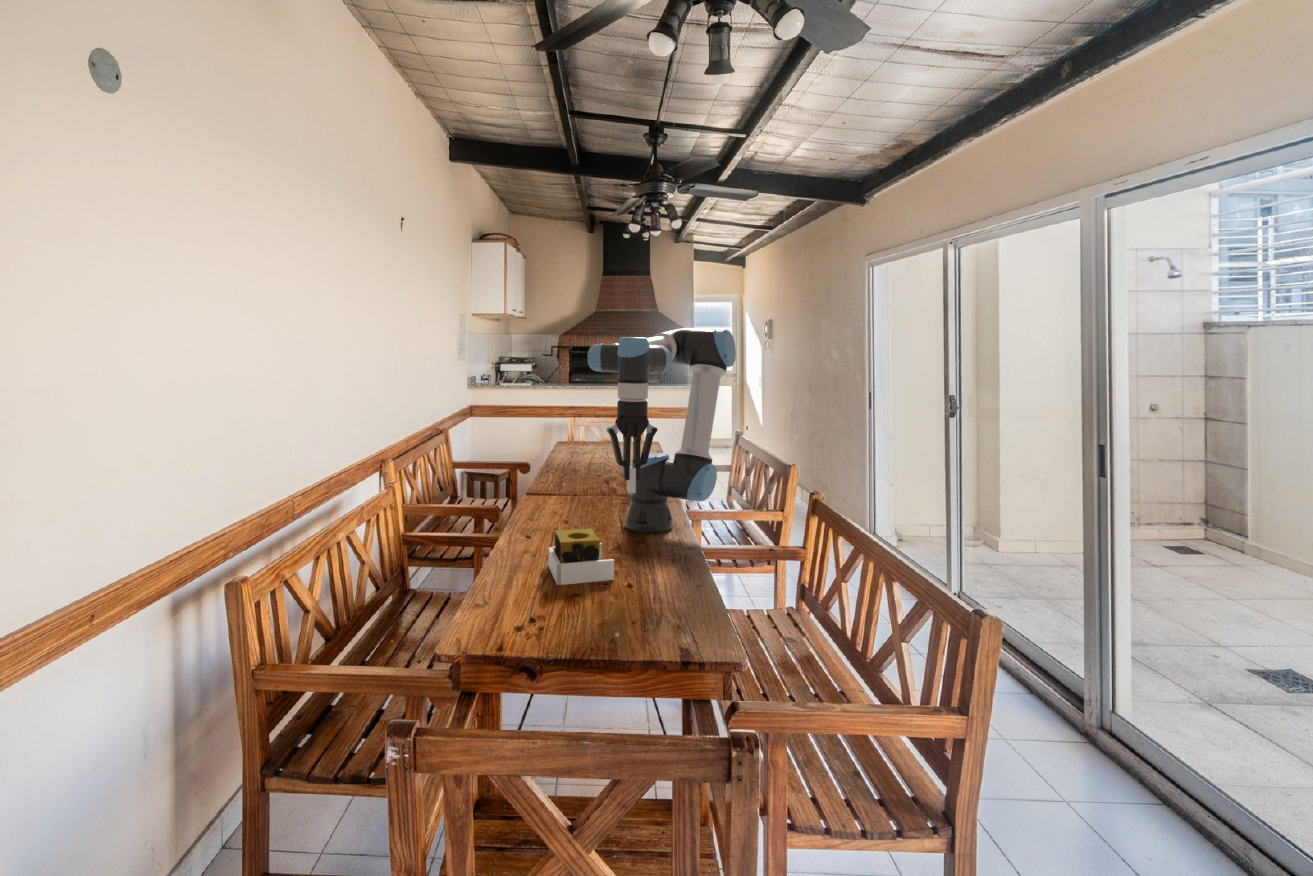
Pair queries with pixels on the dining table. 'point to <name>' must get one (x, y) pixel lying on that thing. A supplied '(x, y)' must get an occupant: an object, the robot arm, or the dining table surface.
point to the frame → (580, 569)
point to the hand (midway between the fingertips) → (631, 492)
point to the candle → (576, 545)
